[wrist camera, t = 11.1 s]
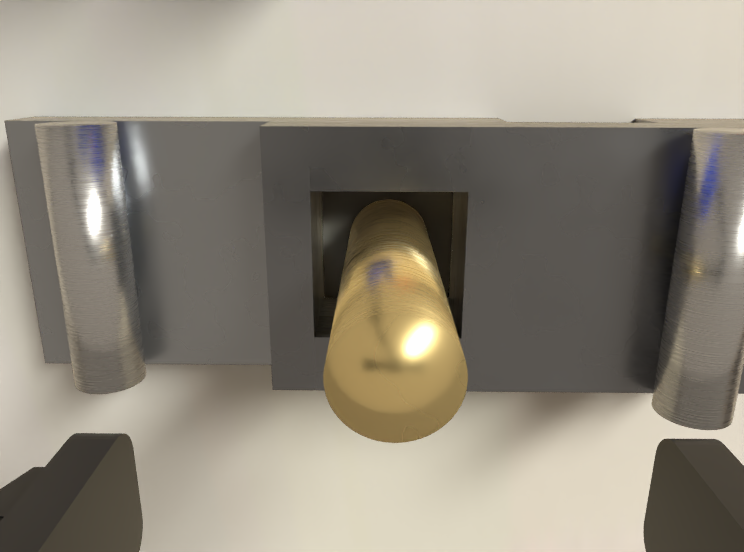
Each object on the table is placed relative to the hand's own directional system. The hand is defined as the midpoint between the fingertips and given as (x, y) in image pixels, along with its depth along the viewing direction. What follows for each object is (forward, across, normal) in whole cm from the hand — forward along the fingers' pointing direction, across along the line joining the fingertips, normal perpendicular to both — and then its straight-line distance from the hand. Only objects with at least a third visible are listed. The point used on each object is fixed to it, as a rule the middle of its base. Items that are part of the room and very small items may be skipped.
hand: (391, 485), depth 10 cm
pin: (+16, 0, 0) cm, 16 cm away
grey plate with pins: (+16, 0, 0) cm, 16 cm away
